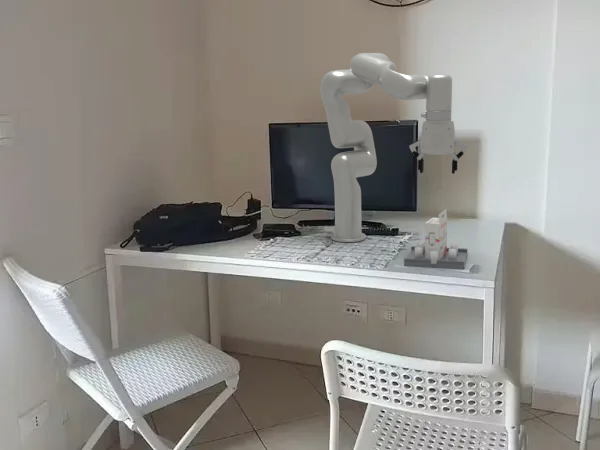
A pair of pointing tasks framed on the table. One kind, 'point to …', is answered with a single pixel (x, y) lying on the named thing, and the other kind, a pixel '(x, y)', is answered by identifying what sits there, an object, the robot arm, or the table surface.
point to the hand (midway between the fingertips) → (437, 172)
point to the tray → (440, 262)
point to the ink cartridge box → (436, 236)
